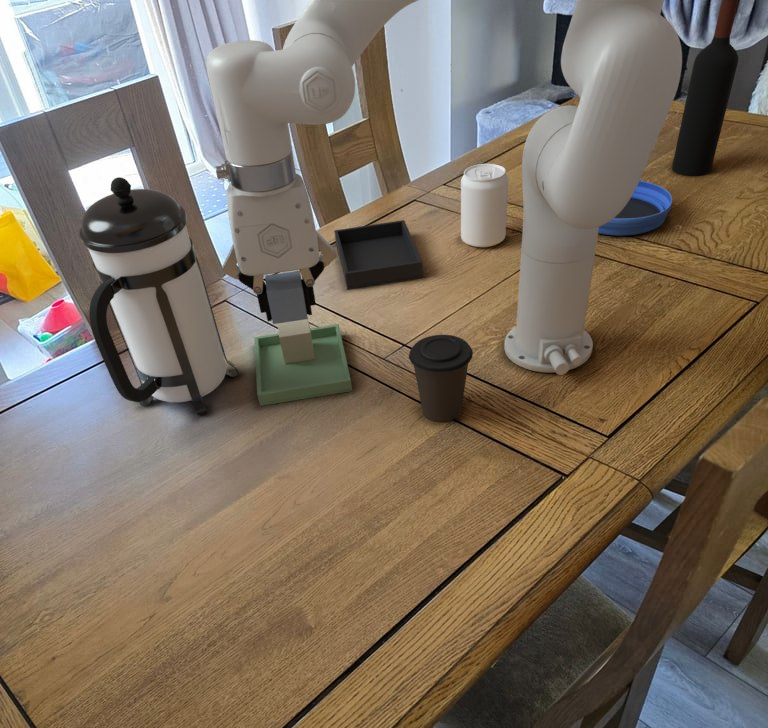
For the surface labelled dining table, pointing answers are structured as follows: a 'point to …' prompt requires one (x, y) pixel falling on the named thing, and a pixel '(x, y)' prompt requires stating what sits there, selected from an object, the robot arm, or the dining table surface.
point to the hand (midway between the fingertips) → (289, 311)
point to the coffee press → (152, 297)
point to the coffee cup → (441, 375)
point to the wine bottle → (707, 98)
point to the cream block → (296, 341)
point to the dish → (301, 368)
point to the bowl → (640, 211)
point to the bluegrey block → (286, 297)
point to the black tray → (377, 254)
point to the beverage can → (484, 205)
